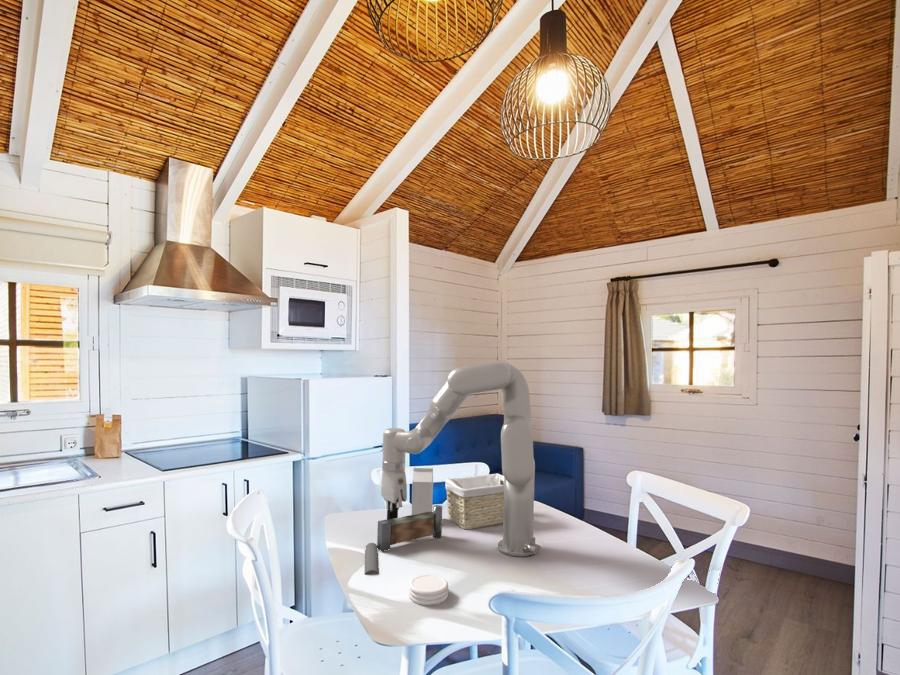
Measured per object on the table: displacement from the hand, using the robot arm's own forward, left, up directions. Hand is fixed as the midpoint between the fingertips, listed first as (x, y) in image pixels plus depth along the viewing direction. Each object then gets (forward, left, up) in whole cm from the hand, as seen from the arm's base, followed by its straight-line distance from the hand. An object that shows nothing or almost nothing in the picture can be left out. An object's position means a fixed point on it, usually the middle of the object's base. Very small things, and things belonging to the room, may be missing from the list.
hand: (392, 521), depth 166 cm
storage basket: (-2, -36, -6) cm, 36 cm away
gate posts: (-8, -3, -5) cm, 10 cm away
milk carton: (+8, -17, -5) cm, 20 cm away
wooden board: (-8, -3, -4) cm, 9 cm away
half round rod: (-12, +14, -6) cm, 19 cm away
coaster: (-40, +11, -6) cm, 42 cm away
